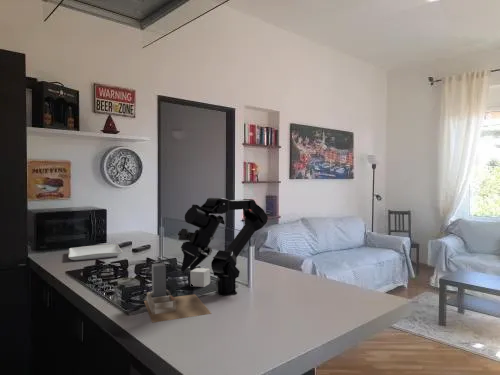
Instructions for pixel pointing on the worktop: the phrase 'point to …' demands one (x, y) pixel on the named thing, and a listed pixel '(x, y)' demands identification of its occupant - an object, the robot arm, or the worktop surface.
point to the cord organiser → (174, 307)
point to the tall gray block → (158, 280)
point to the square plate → (94, 252)
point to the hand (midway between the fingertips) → (186, 270)
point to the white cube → (200, 277)
